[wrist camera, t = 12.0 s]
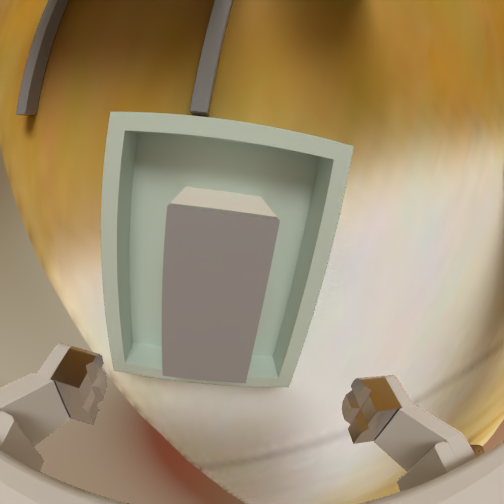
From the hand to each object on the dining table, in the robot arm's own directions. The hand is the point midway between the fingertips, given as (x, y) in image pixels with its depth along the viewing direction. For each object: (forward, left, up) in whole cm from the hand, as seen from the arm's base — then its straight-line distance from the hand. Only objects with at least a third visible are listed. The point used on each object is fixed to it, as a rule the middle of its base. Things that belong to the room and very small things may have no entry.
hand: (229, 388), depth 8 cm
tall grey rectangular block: (+1, 0, -11) cm, 11 cm away
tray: (+1, 0, -12) cm, 12 cm away
